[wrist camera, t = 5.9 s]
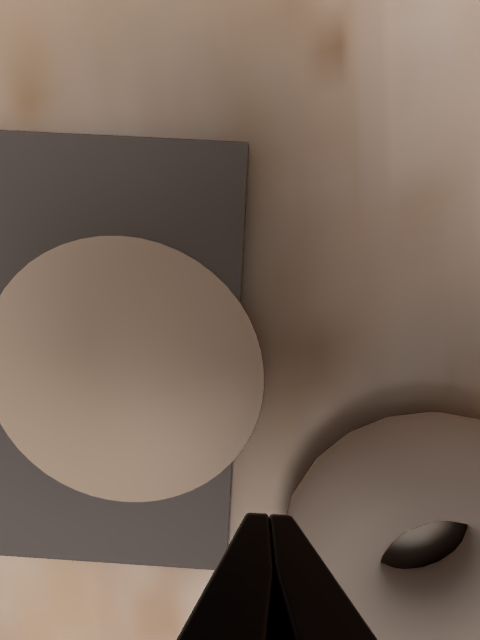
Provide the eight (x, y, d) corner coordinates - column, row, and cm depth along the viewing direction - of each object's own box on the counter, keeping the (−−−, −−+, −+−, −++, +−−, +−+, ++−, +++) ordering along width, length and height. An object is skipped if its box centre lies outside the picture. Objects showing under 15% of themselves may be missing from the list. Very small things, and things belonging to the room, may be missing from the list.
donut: (229, 480, 15) (362, 650, 16) (221, 552, 11) (390, 758, 13) (459, 342, 13) (582, 544, 15) (531, 378, 10) (680, 635, 11)
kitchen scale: (280, 146, 12) (281, 142, 11) (250, 563, 15) (250, 574, 15) (-216, 122, 12) (-235, 118, 11) (-129, 537, 16) (-141, 547, 15)
